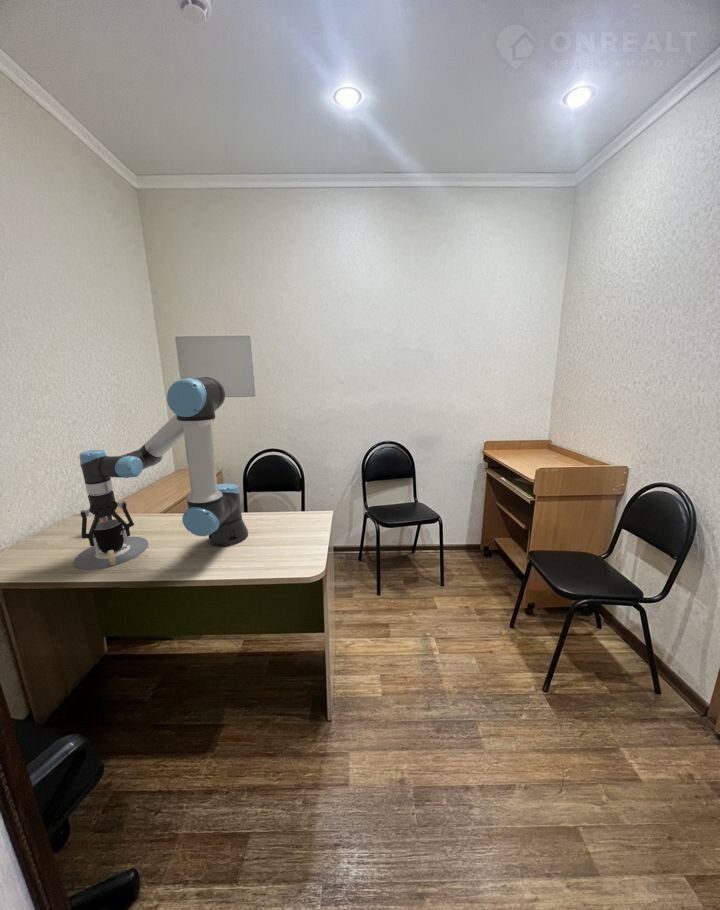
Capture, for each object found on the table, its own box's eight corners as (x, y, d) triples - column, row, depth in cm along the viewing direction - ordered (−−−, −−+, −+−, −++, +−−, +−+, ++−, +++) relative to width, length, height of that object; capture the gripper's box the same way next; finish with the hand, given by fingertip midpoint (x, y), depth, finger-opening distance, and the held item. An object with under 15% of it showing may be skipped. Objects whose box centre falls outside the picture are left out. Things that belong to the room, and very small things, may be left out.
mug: (127, 549, 130) (122, 525, 127) (98, 557, 125) (92, 532, 122) (125, 537, 139) (120, 514, 137) (97, 544, 134) (92, 520, 132)
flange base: (162, 541, 140) (159, 527, 139) (114, 573, 119) (110, 557, 117) (113, 537, 144) (110, 523, 143) (58, 568, 122) (53, 552, 121)
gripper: (133, 483, 135) (143, 535, 140) (62, 496, 121) (76, 554, 127) (136, 488, 129) (146, 542, 135) (62, 502, 116) (77, 562, 121)
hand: (112, 548), depth 131 cm, fingers closed on mug, 9 cm apart
